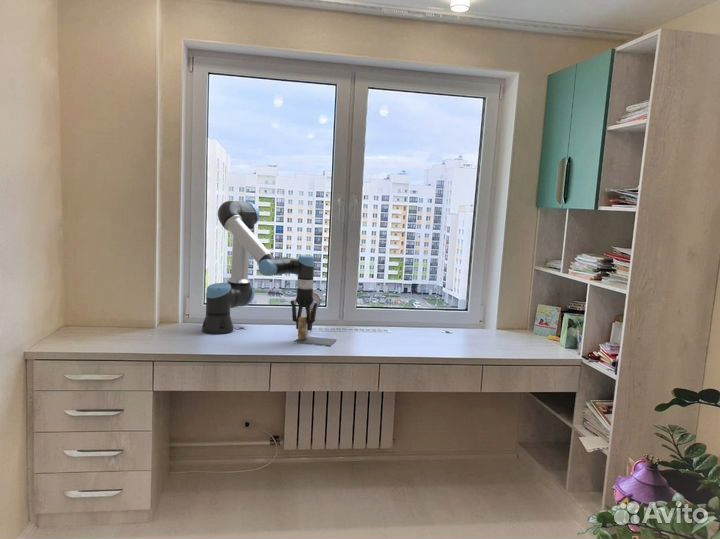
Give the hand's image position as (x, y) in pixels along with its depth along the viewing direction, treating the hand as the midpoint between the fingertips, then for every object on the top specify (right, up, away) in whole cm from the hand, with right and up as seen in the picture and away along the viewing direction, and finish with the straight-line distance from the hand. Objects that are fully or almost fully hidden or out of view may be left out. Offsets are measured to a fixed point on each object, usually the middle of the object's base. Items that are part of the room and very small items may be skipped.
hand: (303, 336), depth 249 cm
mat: (+6, -2, 0) cm, 6 cm away
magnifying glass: (+2, 0, +20) cm, 20 cm away
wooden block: (0, -1, 0) cm, 1 cm away
